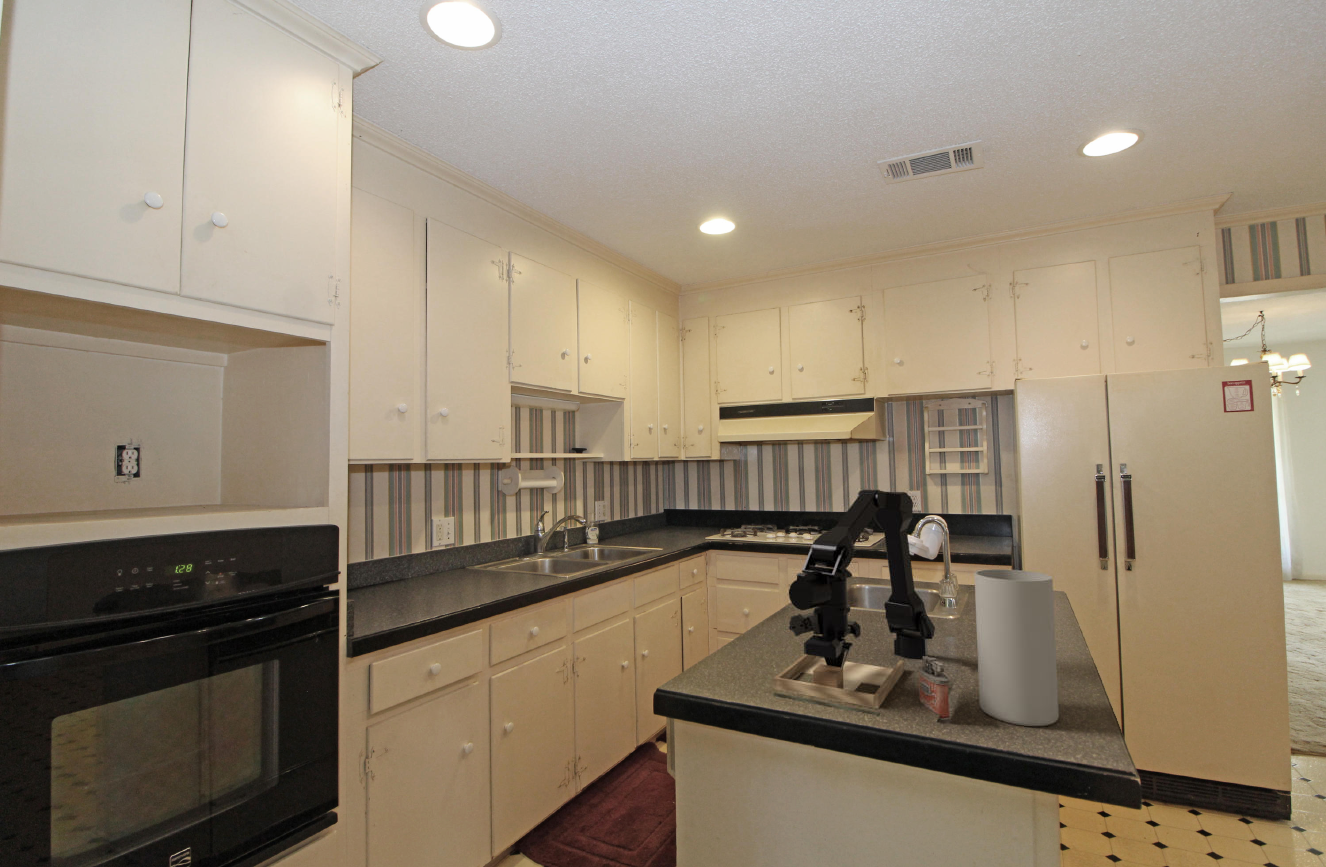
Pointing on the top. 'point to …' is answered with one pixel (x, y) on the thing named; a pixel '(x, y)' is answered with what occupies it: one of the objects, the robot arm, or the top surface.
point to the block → (828, 676)
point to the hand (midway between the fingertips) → (834, 680)
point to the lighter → (934, 688)
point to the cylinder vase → (1016, 646)
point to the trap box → (851, 680)
